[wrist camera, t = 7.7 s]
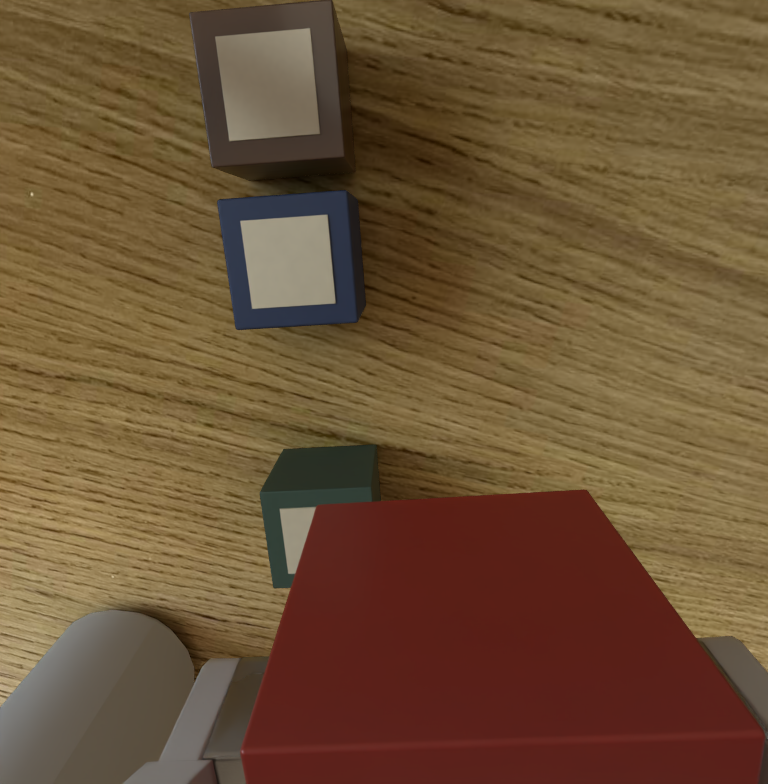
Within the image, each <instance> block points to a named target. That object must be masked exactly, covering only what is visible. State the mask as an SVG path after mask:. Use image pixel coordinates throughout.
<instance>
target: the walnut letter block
mask: <svg viewBox="0 0 768 784" xmlns="http://www.w3.org/2000/svg"><path fill="white" fill-rule="evenodd" d="M189 16H190V22H191V29H192V36H193V43H194V50H195V57H196V63H197V70H198V77H199V84H200V91H201V97H202V104H203V111H204V118H205V125H206V132H207V138H208V145H209V152H210V159H211V166H212V167H213V168H216V169H218V170H221V171H224V172H227V173H229V174H232V175H235V176H238V177H240V178H243V179H246V180H249V181H251V180H265V179H278V178H291V177H304V176H317V175H331V174H344V173H355V172H356V168H355V154H354V141H353V128H352V115H351V102H350V89H349V76H348V62H347V49H346V46H345V42H344V39H343V36H342V32H341V29H340V25H339V22H338V18H337V15H336V11H335V8H334V5H333V1H332V0H320V1H309V2H298V3H287V4H276V5H265V6H254V7H243V8H233V9H222V10H211V11H200V12H190V13H189Z"/></svg>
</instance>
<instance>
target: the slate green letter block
mask: <svg viewBox="0 0 768 784" xmlns="http://www.w3.org/2000/svg"><path fill="white" fill-rule="evenodd" d="M260 499H261V506H262V513H263V520H264V527H265V533H266V540H267V547H268V554H269V561H270V568H271V574H272V581H273V587H274V588H291V586H292V583H293V579H294V576H295V573H296V570H297V567H298V563H299V560H300V557H301V554H302V551H303V547H304V544H305V541H306V538H307V535H308V531H309V528H310V525H311V522H312V519H313V515H314V512H315V509H316V506H317V505H321V504H339V503H356V502H374V501H381V496H380V483H379V470H378V457H377V445H357V446H338V447H318V448H299V449H283V451H282V453H281V454H280V456H279V458H278V460H277V462H276V464H275V465H274V467H273V469H272V471H271V473H270V475H269V476H268V478H267V480H266V482H265V484H264V486H263V487H262V489H261V491H260Z"/></svg>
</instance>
